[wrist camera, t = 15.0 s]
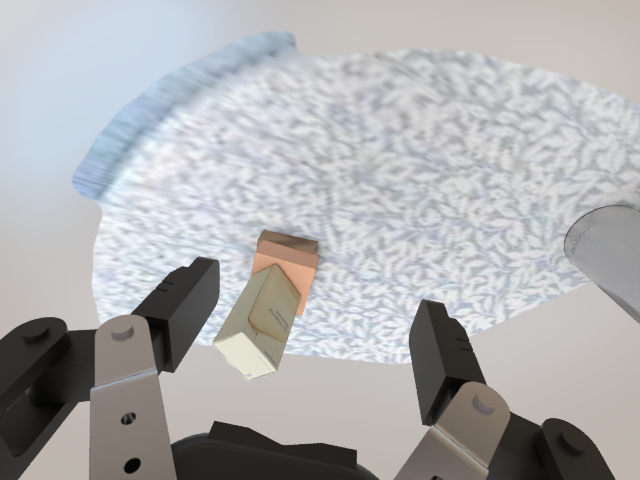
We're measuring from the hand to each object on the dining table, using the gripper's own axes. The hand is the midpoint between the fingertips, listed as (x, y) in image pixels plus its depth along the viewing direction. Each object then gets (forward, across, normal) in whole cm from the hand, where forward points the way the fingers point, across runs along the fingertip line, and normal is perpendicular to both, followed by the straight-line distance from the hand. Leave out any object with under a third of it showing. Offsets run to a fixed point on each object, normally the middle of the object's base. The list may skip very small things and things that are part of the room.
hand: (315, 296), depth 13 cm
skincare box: (+25, +6, +18) cm, 31 cm away
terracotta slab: (+28, +6, +18) cm, 34 cm away
